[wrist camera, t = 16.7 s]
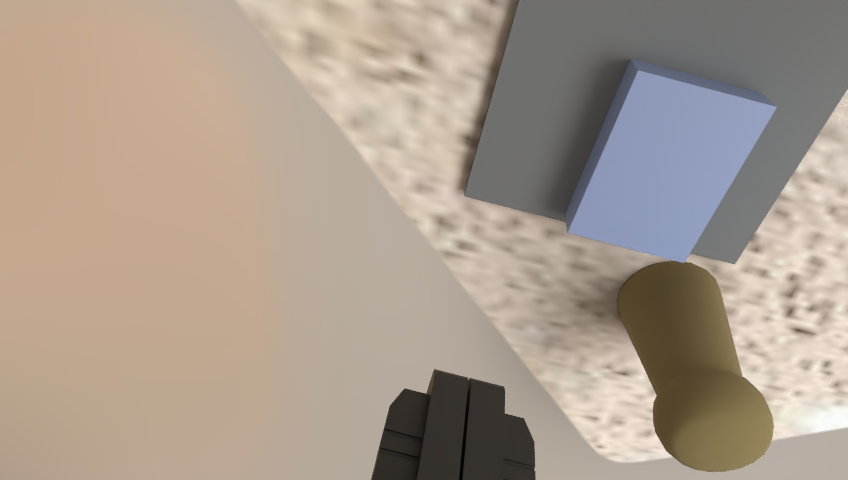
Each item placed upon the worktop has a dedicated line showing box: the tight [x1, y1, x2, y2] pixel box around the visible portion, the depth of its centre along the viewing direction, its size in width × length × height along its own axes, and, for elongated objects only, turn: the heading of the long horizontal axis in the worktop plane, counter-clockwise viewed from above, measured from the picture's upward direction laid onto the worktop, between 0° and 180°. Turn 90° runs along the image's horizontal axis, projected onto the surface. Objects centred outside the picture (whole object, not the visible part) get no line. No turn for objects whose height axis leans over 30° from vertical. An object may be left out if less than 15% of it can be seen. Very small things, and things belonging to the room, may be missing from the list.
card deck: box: [565, 59, 777, 263], centre depth 29 cm, size 2×9×6 cm
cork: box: [617, 261, 774, 472], centre depth 30 cm, size 6×6×11 cm
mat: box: [464, 0, 848, 264], centre depth 29 cm, size 16×14×1 cm
